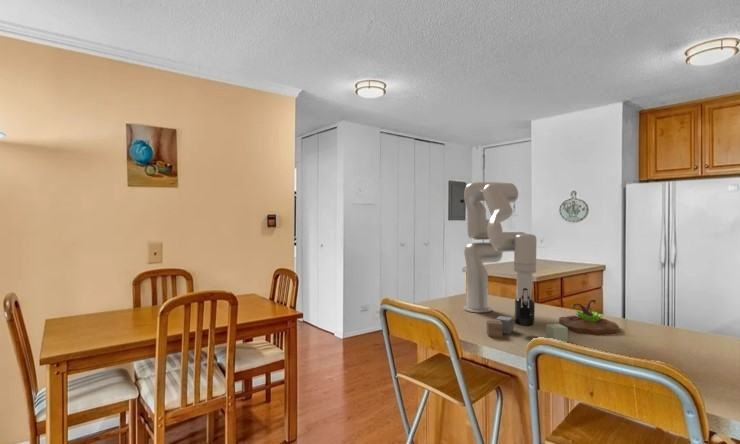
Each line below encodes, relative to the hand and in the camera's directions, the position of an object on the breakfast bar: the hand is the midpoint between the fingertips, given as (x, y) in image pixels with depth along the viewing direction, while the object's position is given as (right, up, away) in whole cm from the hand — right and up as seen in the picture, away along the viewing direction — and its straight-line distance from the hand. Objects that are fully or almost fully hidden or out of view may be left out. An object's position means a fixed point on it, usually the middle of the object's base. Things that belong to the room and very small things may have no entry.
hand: (524, 315), depth 144 cm
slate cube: (-5, -7, +5) cm, 11 cm away
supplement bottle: (0, -4, 0) cm, 4 cm away
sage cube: (+9, -7, -6) cm, 13 cm away
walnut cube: (-11, -8, +1) cm, 13 cm away
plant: (+29, -7, +9) cm, 31 cm away
